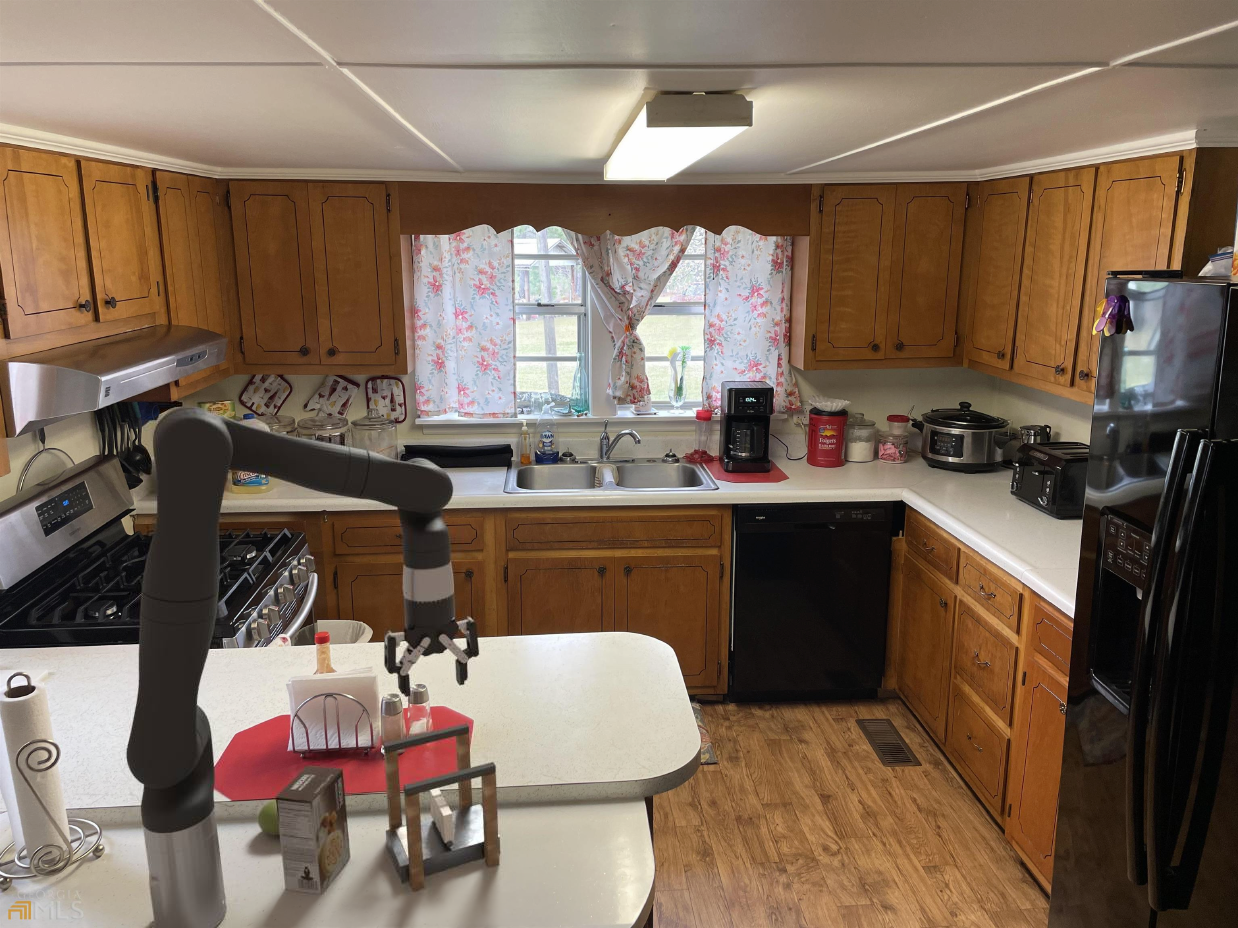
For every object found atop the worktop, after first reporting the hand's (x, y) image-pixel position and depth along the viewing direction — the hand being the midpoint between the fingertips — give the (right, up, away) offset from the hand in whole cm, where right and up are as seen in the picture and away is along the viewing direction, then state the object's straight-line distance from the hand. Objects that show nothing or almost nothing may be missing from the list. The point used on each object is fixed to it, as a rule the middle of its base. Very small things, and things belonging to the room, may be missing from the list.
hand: (434, 688), depth 140 cm
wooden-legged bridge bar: (-3, -11, +8) cm, 14 cm away
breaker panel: (0, -28, +6) cm, 28 cm away
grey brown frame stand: (0, -28, +6) cm, 28 cm away
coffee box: (-18, -29, +1) cm, 34 cm away
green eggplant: (-27, -27, +11) cm, 39 cm away
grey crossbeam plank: (+3, -13, -3) cm, 14 cm away
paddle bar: (0, -24, +5) cm, 25 cm away
